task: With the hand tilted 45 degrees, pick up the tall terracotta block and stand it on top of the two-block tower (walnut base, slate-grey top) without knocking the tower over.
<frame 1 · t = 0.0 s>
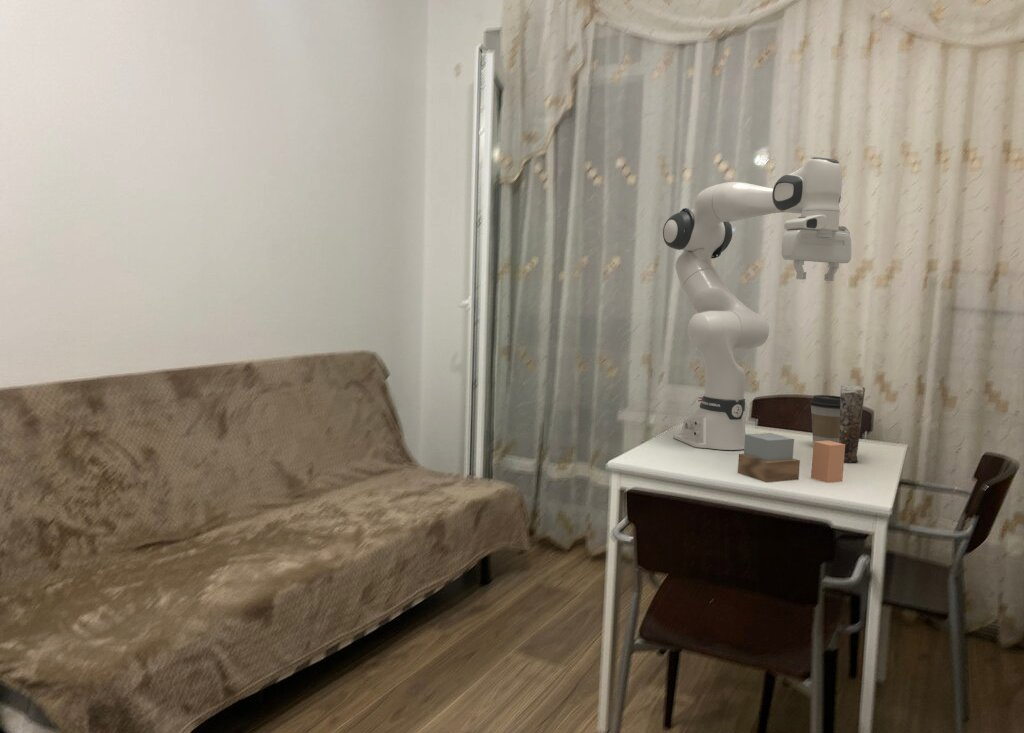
hand: (815, 280, 197), 48 cm above the table, tool pointing down, fingers open, 8 cm apart
tower top: (767, 456, 193), point 5 cm above the table
tower base: (767, 477, 193), on the table
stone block: (847, 459, 218), on the table
terracotta block: (826, 479, 192), on the table
coffee cup: (826, 448, 234), on the table
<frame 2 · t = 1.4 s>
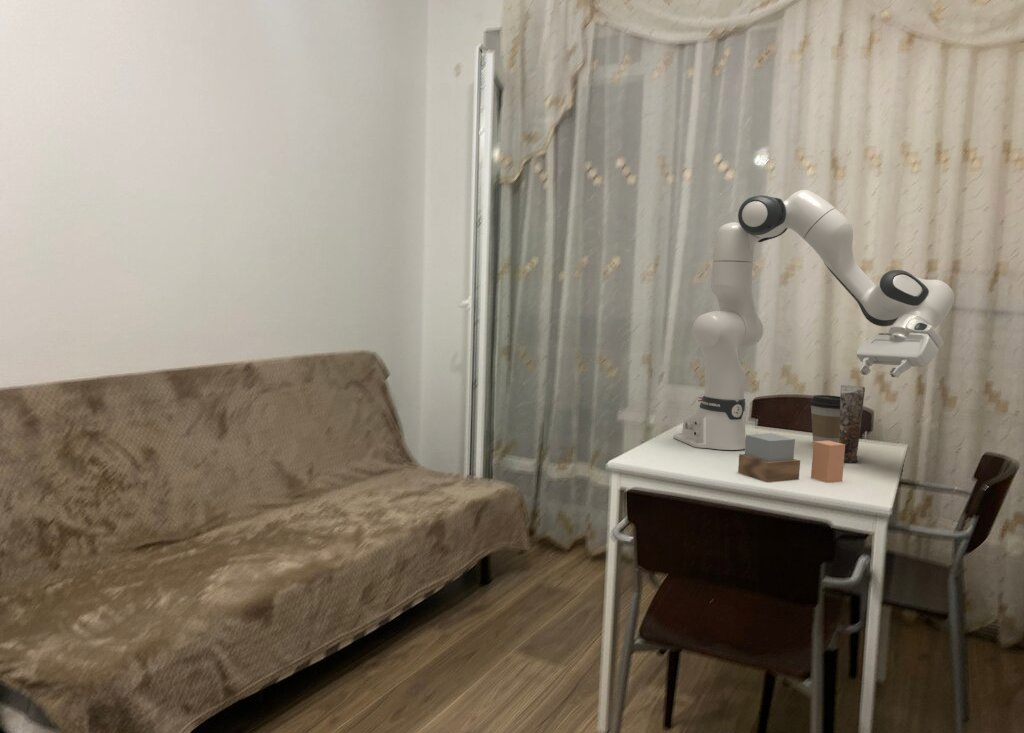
hand: (877, 374, 195), 25 cm above the table, tool tilted 45°, fingers open, 8 cm apart
tower top: (768, 457, 192), point 5 cm above the table, touching tower base
tower base: (767, 477, 193), on the table, touching tower top
everything else where it was.
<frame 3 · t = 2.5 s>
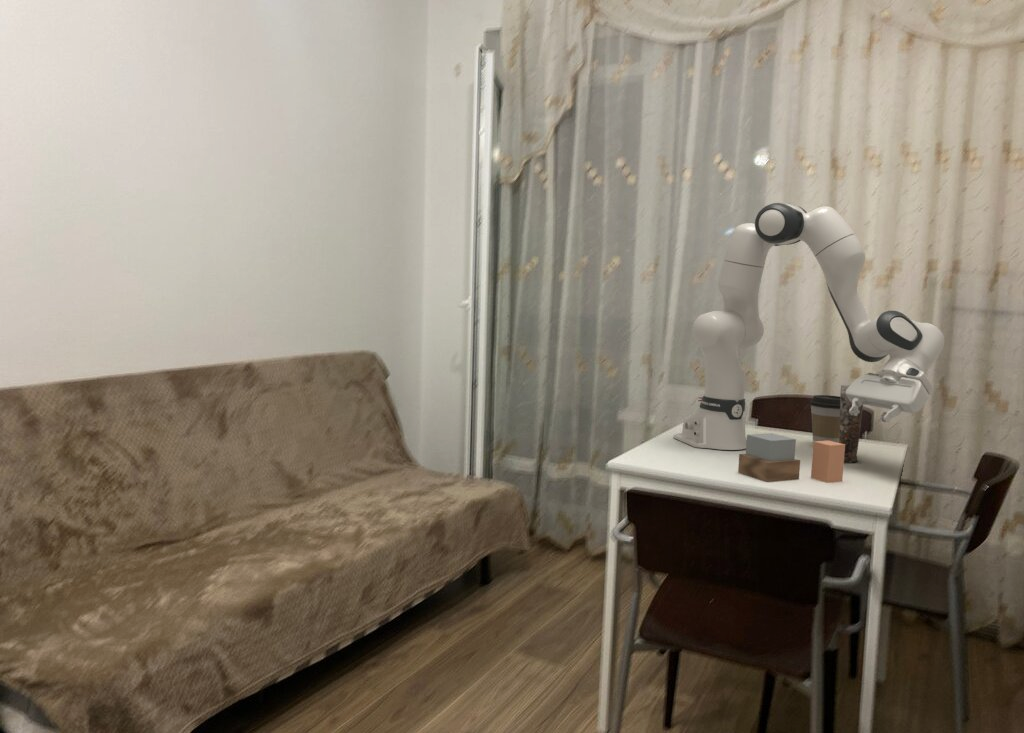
hand: (867, 417, 196), 15 cm above the table, tool tilted 45°, fingers open, 8 cm apart
nothing on the table moved.
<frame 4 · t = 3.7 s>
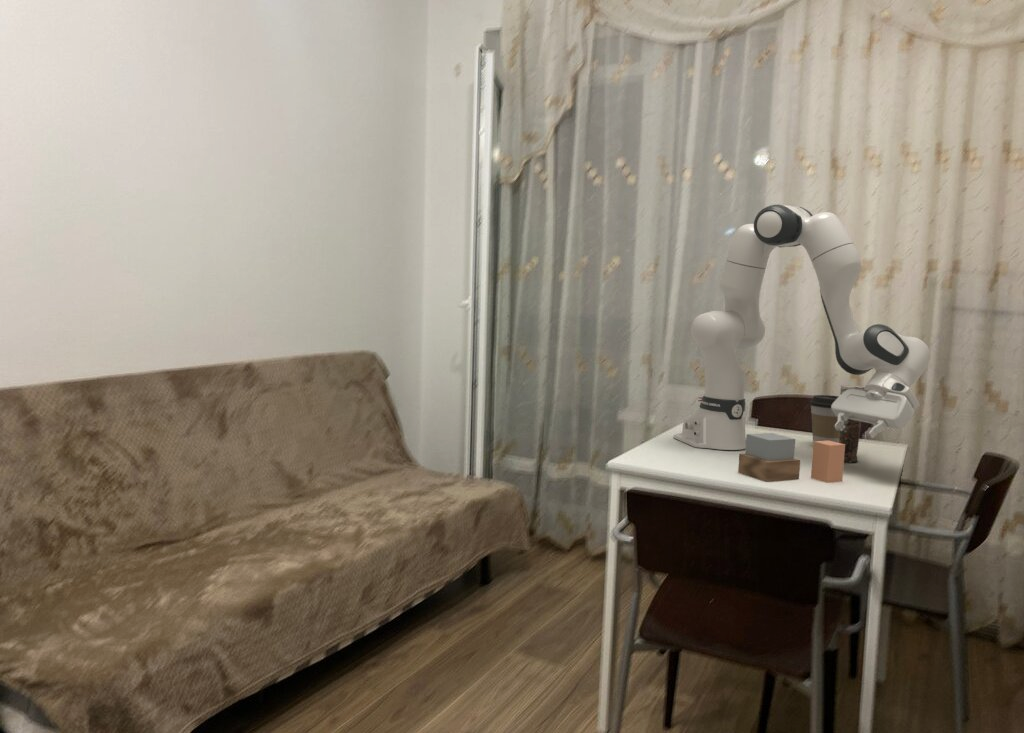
hand: (853, 432, 194), 11 cm above the table, tool tilted 45°, fingers open, 8 cm apart
nothing on the table moved.
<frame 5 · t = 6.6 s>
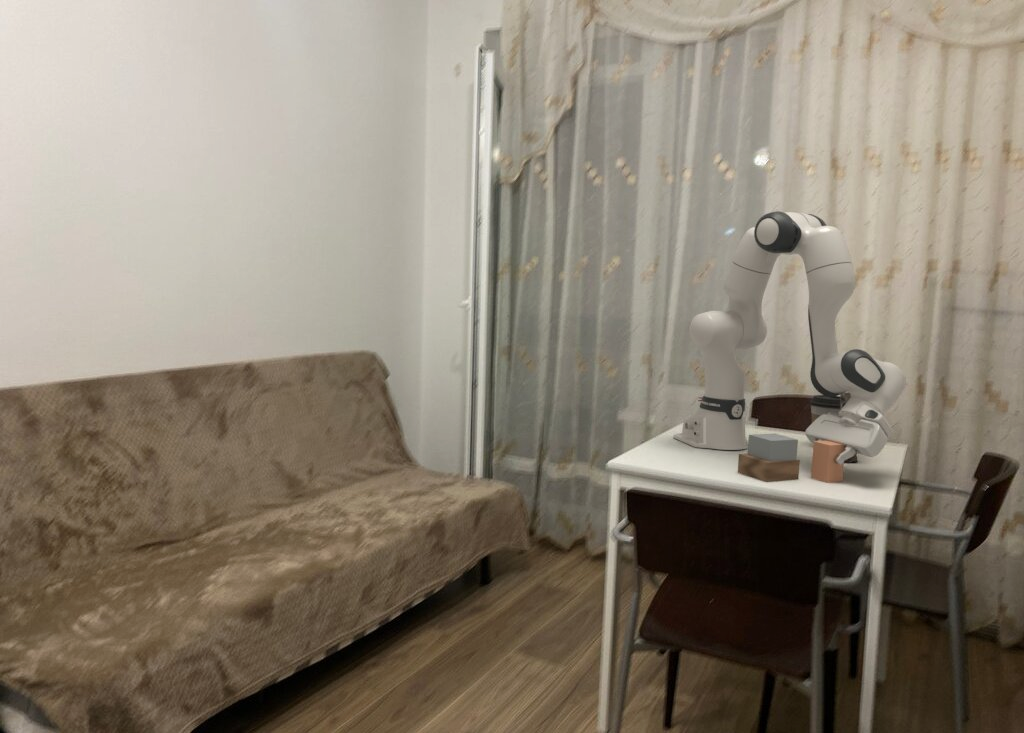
hand: (826, 459, 191), 5 cm above the table, tool tilted 45°, fingers closed on terracotta block, 5 cm apart
tower top: (771, 457, 192), point 5 cm above the table
tower base: (767, 477, 193), on the table
terracotta block: (826, 479, 192), on the table, touching gripper
everything else where it was.
when the fingers open (16 cm above the table, at t = 11.2 s): terracotta block drops 2 cm, resting on tower top.
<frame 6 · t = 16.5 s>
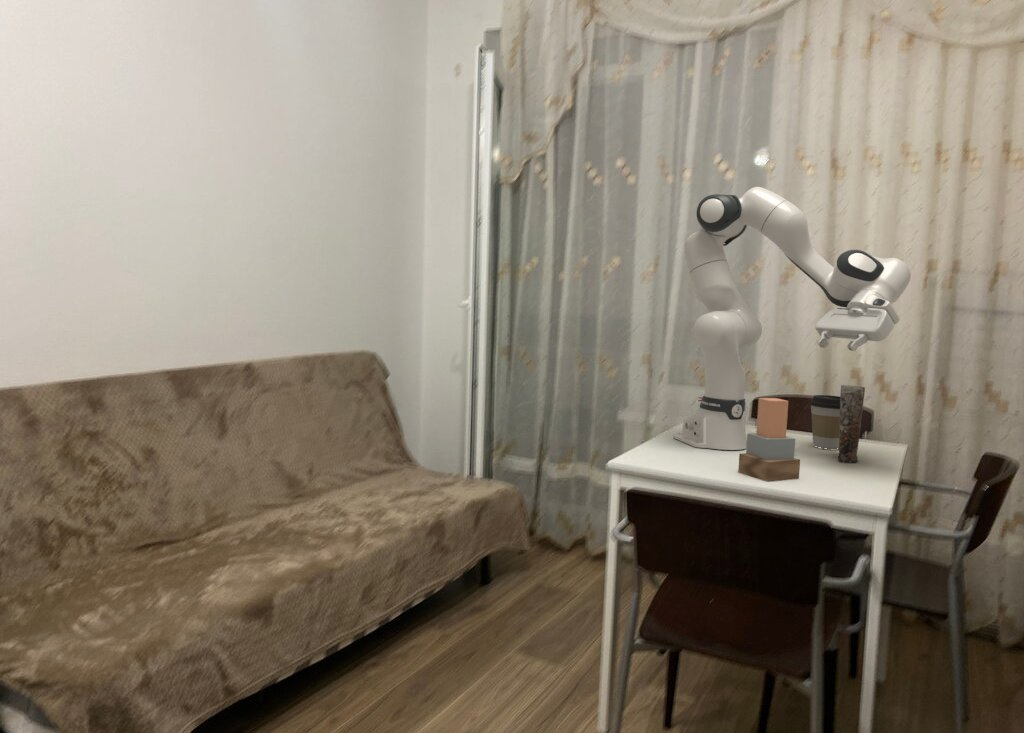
hand: (835, 347, 201), 31 cm above the table, tool tilted 45°, fingers open, 8 cm apart
tower top: (769, 456, 194), point 5 cm above the table, touching terracotta block, tower base
tower base: (768, 476, 194), on the table, touching tower top
terracotta block: (770, 436, 193), point 10 cm above the table, touching tower top
everything else where it was.
at the end: terracotta block 0.4 cm off-centre on the tower base, point 10.0 cm above the tower base's base; terracotta block tilted 0°; tower top 0.6 cm off-centre on the tower base, point 5.0 cm above the tower base's base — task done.
